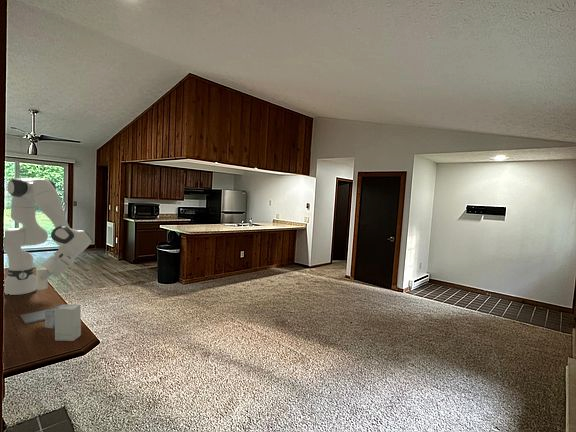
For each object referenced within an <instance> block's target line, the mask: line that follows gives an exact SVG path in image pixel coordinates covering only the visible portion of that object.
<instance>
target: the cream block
mask: <svg viewBox="0 0 576 432" xmlns="http://www.w3.org/2000/svg"><path fill="white" fill-rule="evenodd" d="M46 272H48V270H47V269H46V268H44V267H39V268H35V276H36V289H37V290H36V291H39V290H40V291H42V290H47V289H48V283H49V281H48V279H49V277H47V278H46V279H45V280H42V279H40V277H41V276H42V275H45V274H46Z"/></svg>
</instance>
